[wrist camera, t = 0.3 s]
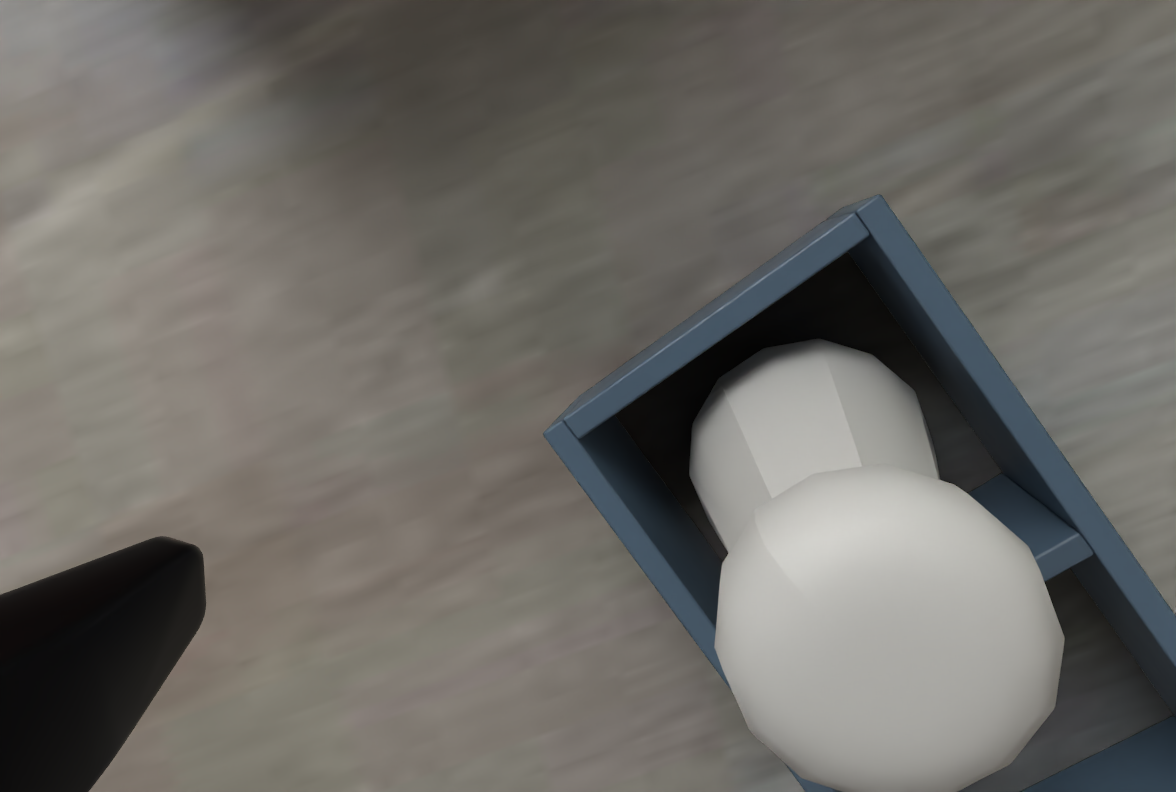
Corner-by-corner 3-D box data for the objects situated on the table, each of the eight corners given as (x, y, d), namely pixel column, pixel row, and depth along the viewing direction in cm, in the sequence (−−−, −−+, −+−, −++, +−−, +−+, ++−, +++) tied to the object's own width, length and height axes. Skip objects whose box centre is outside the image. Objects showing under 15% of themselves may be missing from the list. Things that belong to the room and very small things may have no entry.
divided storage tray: (917, 862, 24) (966, 1011, 19) (577, 397, 23) (541, 434, 18) (1206, 721, 22) (1339, 848, 17) (844, 205, 21) (880, 192, 16)
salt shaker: (895, 314, 21) (1151, 404, 9) (922, 522, 22) (1192, 880, 9) (675, 351, 22) (617, 479, 10) (708, 547, 23) (694, 900, 11)
